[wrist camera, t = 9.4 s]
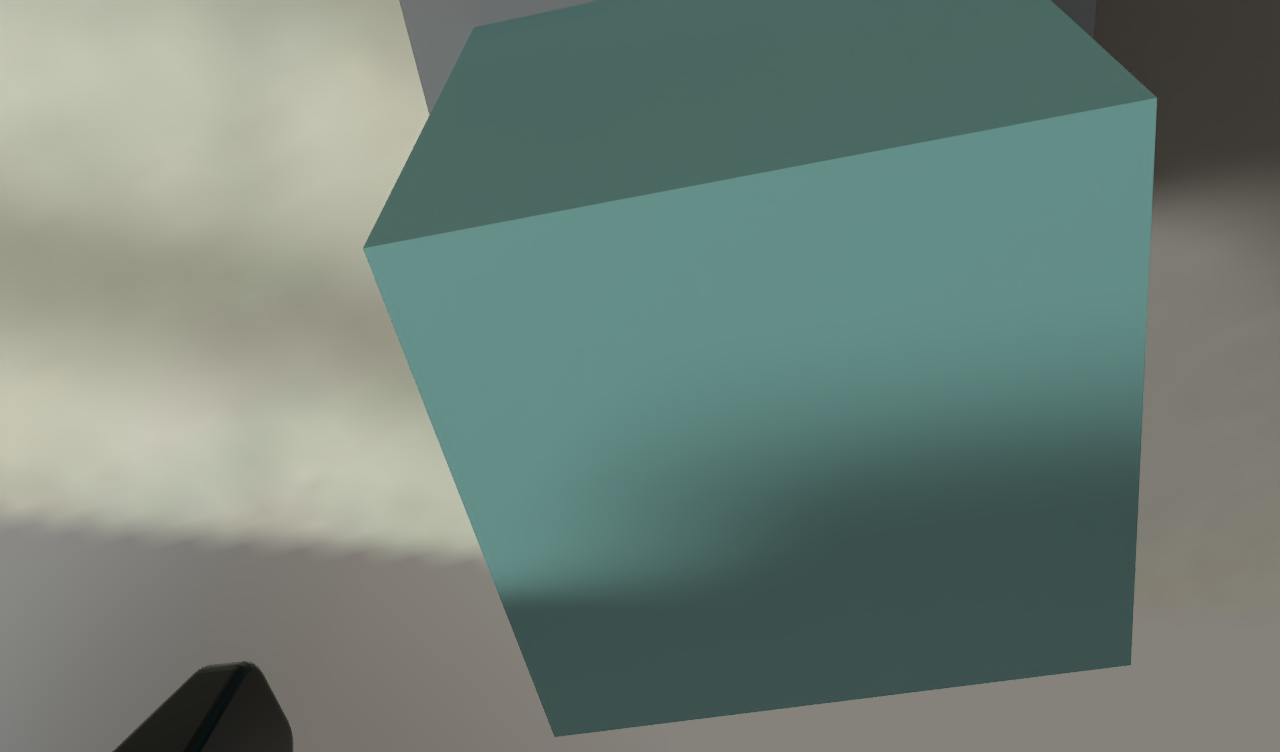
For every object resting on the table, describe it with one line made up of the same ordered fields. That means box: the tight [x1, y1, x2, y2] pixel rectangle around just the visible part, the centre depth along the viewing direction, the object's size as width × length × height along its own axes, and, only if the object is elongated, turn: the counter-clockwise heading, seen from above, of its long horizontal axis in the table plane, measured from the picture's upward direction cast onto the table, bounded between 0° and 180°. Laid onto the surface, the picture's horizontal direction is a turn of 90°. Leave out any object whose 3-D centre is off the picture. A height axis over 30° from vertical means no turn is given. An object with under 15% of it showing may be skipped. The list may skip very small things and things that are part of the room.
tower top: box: [399, 0, 1097, 114], centre depth 14 cm, size 7×7×4 cm
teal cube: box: [363, 0, 1157, 737], centre depth 10 cm, size 5×5×5 cm
